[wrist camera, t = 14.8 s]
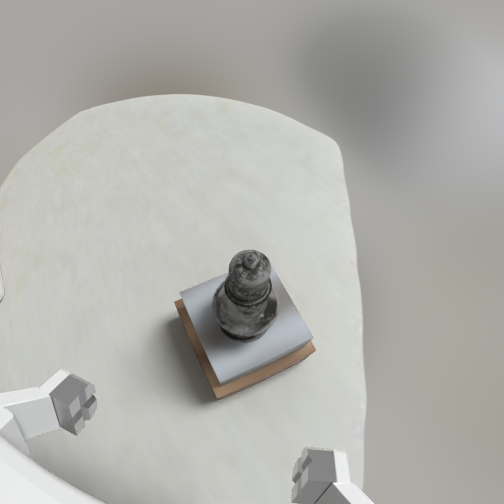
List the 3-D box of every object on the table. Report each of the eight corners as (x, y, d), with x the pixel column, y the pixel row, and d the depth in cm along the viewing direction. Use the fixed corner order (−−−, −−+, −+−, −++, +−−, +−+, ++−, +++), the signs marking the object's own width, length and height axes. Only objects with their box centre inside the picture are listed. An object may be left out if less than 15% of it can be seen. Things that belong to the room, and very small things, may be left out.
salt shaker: (207, 298, 30) (195, 228, 19) (262, 283, 31) (278, 209, 21) (224, 353, 27) (218, 310, 17) (282, 335, 28) (313, 283, 18)
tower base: (180, 315, 38) (167, 287, 30) (262, 281, 41) (270, 246, 33) (219, 400, 32) (214, 396, 25) (305, 358, 36) (326, 341, 28)
